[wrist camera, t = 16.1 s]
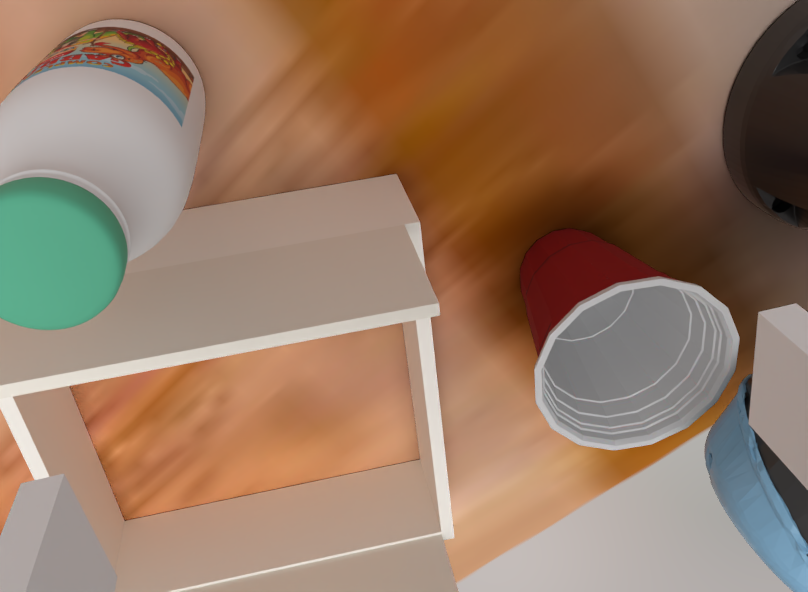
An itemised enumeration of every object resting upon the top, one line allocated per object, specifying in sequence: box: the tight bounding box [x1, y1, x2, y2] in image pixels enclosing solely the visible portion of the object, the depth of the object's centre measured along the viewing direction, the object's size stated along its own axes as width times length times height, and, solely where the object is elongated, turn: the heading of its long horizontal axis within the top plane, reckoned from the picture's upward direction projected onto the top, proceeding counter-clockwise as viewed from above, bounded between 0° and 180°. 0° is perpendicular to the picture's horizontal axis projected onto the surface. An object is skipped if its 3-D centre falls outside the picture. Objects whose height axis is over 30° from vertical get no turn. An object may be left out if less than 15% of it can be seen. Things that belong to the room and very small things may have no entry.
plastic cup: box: [520, 228, 740, 450], centre depth 44 cm, size 11×11×12 cm
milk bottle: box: [0, 19, 206, 330], centre depth 31 cm, size 8×8×20 cm
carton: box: [0, 174, 458, 592], centre depth 42 cm, size 23×23×15 cm
